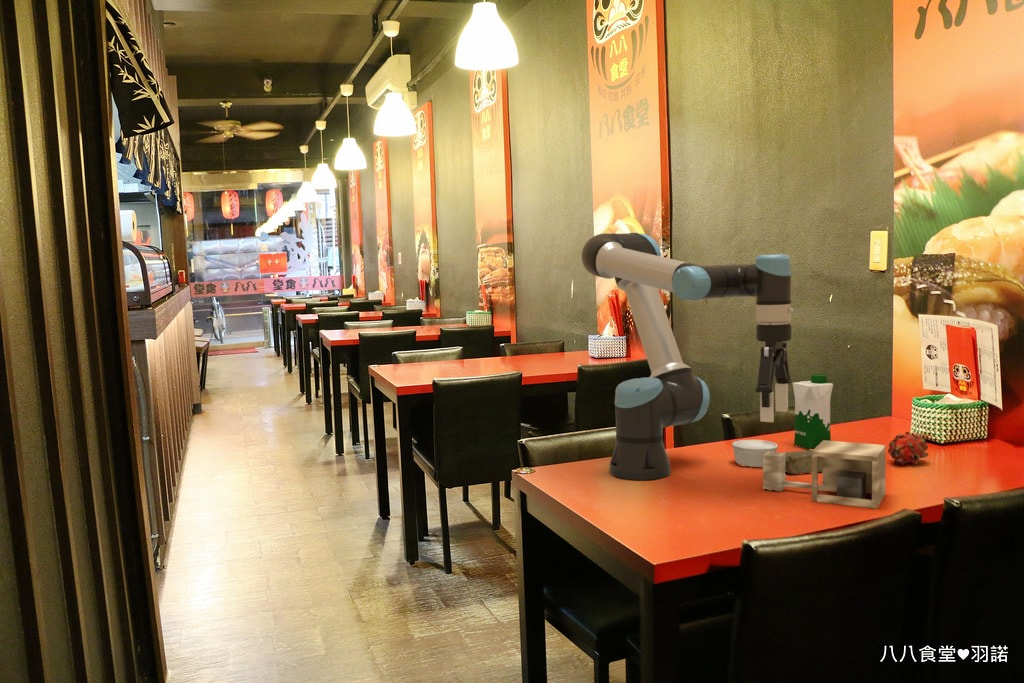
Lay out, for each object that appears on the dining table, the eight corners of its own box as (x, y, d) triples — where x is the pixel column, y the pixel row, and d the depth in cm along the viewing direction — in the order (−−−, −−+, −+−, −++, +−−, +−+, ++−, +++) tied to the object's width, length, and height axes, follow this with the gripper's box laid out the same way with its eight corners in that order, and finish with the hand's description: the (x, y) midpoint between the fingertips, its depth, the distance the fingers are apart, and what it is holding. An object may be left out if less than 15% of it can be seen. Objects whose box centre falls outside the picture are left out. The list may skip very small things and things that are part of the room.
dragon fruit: (924, 466, 208) (897, 480, 202) (898, 442, 213) (871, 456, 207) (942, 443, 203) (915, 457, 197) (914, 420, 208) (887, 433, 202)
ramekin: (787, 466, 207) (787, 445, 207) (751, 471, 203) (750, 450, 203) (758, 457, 218) (758, 437, 217) (723, 461, 213) (723, 442, 213)
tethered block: (762, 490, 185) (761, 455, 184) (769, 484, 190) (768, 450, 189) (861, 502, 174) (861, 465, 173) (865, 494, 179) (866, 459, 178)
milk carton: (836, 448, 224) (836, 376, 222) (808, 451, 221) (808, 378, 219) (815, 442, 232) (815, 372, 230) (788, 445, 229) (788, 375, 228)
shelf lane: (811, 501, 176) (811, 451, 175) (823, 487, 186) (823, 440, 185) (877, 508, 169) (877, 456, 168) (885, 494, 179) (885, 445, 178)
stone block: (831, 472, 200) (831, 452, 199) (789, 477, 197) (788, 456, 197) (817, 467, 205) (817, 447, 205) (776, 471, 203) (776, 451, 202)
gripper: (777, 327, 170) (778, 427, 172) (803, 319, 192) (803, 408, 193) (741, 327, 174) (742, 425, 176) (770, 319, 196) (771, 406, 197)
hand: (774, 416), depth 185 cm, fingers open, 13 cm apart
